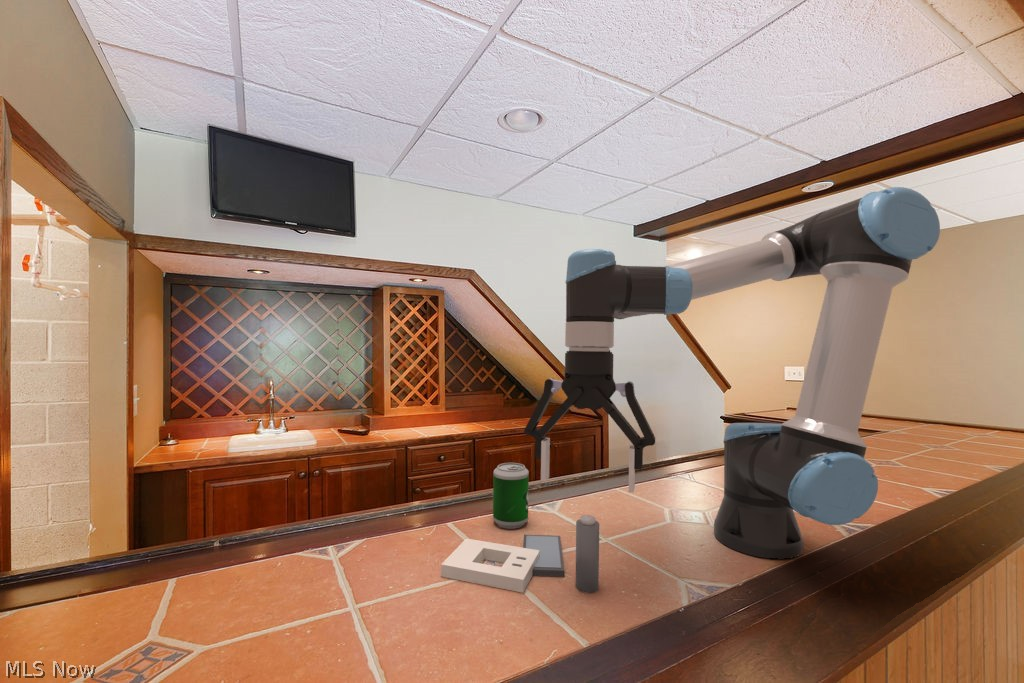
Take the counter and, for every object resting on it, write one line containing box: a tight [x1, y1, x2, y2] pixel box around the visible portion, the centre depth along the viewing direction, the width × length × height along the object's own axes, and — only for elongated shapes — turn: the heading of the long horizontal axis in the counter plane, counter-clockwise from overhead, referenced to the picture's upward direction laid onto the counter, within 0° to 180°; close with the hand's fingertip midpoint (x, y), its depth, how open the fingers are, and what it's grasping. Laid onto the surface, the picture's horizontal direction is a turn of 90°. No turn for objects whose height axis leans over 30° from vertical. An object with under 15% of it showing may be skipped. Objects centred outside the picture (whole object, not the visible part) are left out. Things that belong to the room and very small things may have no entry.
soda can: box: [492, 462, 530, 530], centre depth 93 cm, size 8×8×12 cm
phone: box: [522, 534, 565, 578], centre depth 79 cm, size 7×13×1 cm, turn 177°
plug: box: [574, 514, 600, 594], centre depth 69 cm, size 4×4×11 cm
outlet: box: [440, 538, 540, 594], centre depth 74 cm, size 14×10×2 cm
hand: (586, 484), depth 69 cm, fingers open, 13 cm apart
